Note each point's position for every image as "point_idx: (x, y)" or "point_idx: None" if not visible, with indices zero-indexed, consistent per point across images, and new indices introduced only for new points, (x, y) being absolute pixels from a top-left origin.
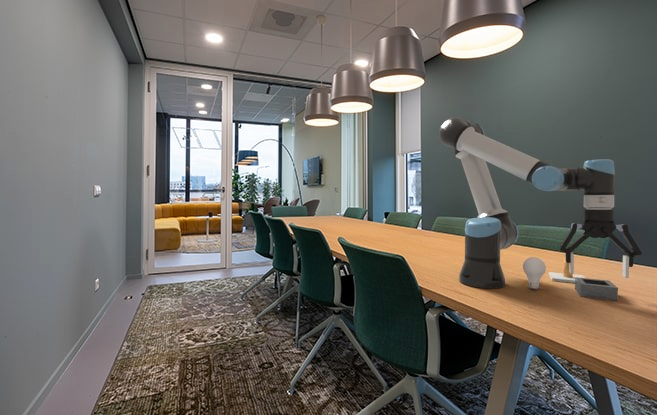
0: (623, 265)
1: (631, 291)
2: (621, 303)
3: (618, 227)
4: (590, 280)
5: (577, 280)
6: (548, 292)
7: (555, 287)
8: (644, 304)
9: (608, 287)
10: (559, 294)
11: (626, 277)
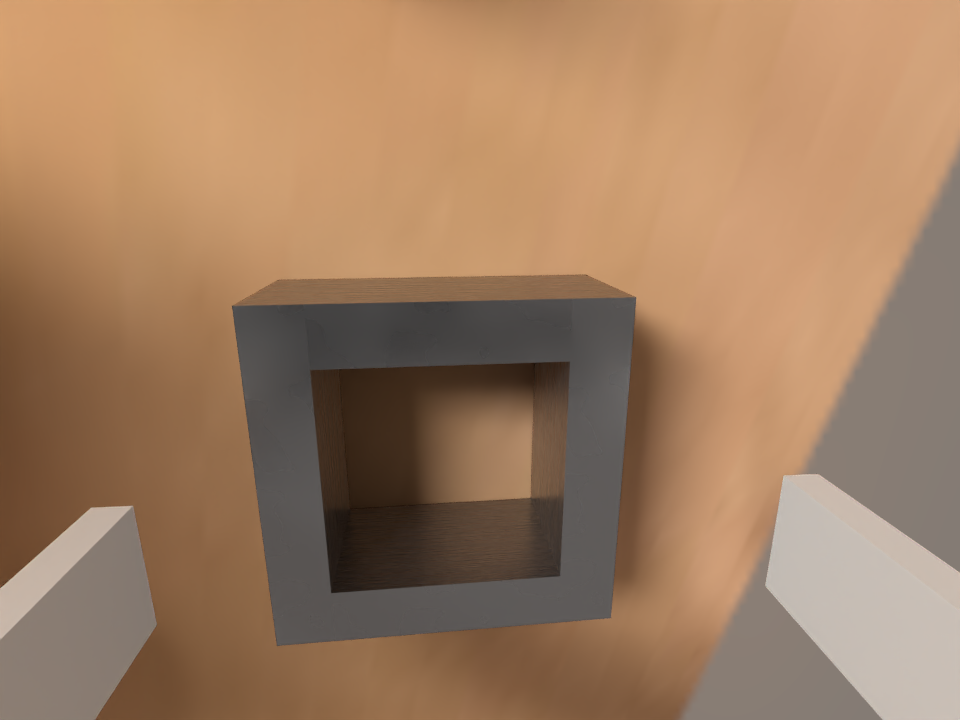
0: (918, 630)
1: (829, 98)
2: None
3: None
4: (414, 363)
5: (255, 460)
6: None
7: (78, 323)
8: (736, 526)
9: (530, 620)
10: None
11: (779, 589)
